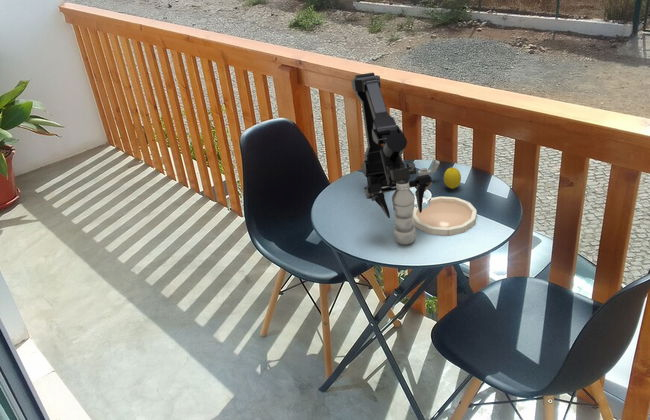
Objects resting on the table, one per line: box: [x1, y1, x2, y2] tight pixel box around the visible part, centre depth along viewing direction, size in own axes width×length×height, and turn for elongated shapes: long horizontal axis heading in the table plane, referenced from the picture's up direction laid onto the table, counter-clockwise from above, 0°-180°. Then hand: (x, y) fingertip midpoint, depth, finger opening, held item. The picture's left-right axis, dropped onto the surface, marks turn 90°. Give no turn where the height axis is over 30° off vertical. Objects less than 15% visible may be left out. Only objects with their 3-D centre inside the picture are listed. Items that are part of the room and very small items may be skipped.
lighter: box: [417, 159, 441, 177], centre depth 201 cm, size 7×2×8 cm, turn 83°
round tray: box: [413, 195, 478, 237], centre depth 182 cm, size 19×19×2 cm
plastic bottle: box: [391, 179, 417, 246], centre depth 169 cm, size 6×7×20 cm
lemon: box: [443, 166, 462, 190], centre depth 195 cm, size 6×6×8 cm
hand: (405, 215), depth 168 cm, fingers open, 9 cm apart
